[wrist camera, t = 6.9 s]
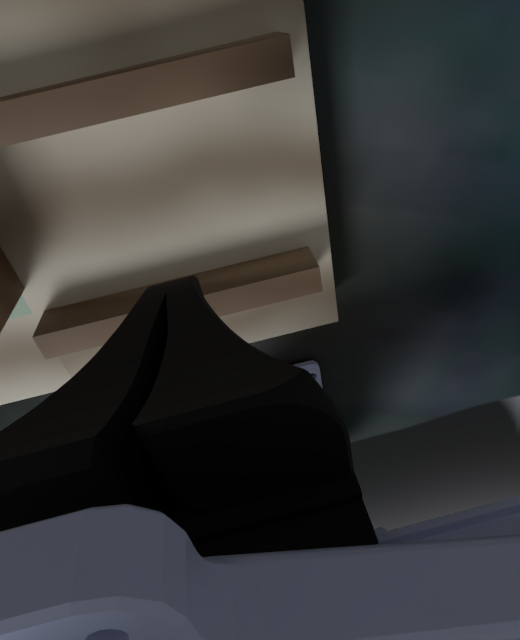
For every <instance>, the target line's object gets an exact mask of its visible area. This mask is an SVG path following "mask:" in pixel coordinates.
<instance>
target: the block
mask: <svg viewBox="0 0 520 640" xmlns="http://www.w3.org/2000/svg"><path fill="white" fill-rule="evenodd" d="M24 290H25V288H24V286H23V284H22V283H21V281H20V279H19V278H18V276H17V274H16V272H15V271H14V269H13V267H12V266H11V264H10V262H9V260H8V259H7V257H6V255H5V254H4V252H3V250H2V248H1V247H0V333H1V331H2V329H3V328H4V326H5V324H6V322H7V320H8V319H9V317H10V315H11V313H12V311H13V310H14V308H15V306H16V304H17V302H18V301H19V299H20V297H21V295H22V293H23V292H24Z"/></svg>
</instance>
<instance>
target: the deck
mask: <svg viewBox="0 0 520 640" xmlns="http://www.w3.org/2000/svg"><path fill="white" fill-rule="evenodd" d="M0 247H1V248H2V250H3V252H4V254H5V255H6V257H7V259H8V260H9V262H10V264H11V266H12V267H13V269H14V271H15V272H16V274H17V276H18V278H19V279H20V281H21V283H22V284H23V286H24V288H25V290H24V292H23V293H22V295H21V297H20V299H19V301H18V302H17V304H16V306H15V308H14V310H13V311H12V313H11V315H10V317H9V319H8V320H7V322H6V324H5V326H4V328H3V329H2V331H1V333H0V405H2V404H7V403H11V402H15V401H19V400H23V399H27V398H31V397H35V396H39V395H43V394H47V393H51V392H55V391H56V390H58V389H59V388H60V387H61V386H63V385H64V384H65V383H66V382H67V381H69V380H70V379H71V378H72V377H73V376H74V375H75V374H76V373H77V372H78V371H79V370H80V369H81V368H82V367H84V366H85V365H86V364H87V363H88V362H89V361H90V360H91V358H92V357H93V356H94V355H95V354H96V353H97V352H98V351H99V350H100V349H101V347H102V346H103V345H104V344H105V343H106V341H107V340H108V339H109V338H110V337H111V335H112V334H113V333H114V332H115V331H116V329H117V328H118V327H119V326H120V324H121V323H122V322H123V320H124V319H125V318H126V316H127V315H128V314H129V312H130V311H131V310H132V308H133V307H134V305H135V304H136V302H137V301H138V300H139V298H140V297H141V295H142V294H143V293H144V291H145V290H146V289H147V288H148V287H150V286H154V285H157V284H161V283H165V282H169V281H173V280H177V279H180V278H184V277H188V276H192V275H193V276H195V277H197V278H198V280H199V283H200V286H201V289H202V292H203V295H204V298H205V299H206V301H207V302H208V304H209V305H210V306H211V308H212V309H213V310H214V312H215V313H216V314H217V315H218V316H219V317H220V319H221V320H222V321H223V322H224V323H225V324H226V325H227V326H228V327H229V328H230V329H231V330H232V331H234V332H235V333H236V334H237V335H238V336H239V337H241V338H242V339H243V340H245V341H246V342H247V343H253V342H257V341H261V340H265V339H269V338H273V337H277V336H281V335H285V334H289V333H293V332H297V331H301V330H305V329H309V328H313V327H317V326H321V325H325V324H329V323H333V322H337V321H338V312H337V303H336V294H335V285H334V276H333V267H332V257H331V248H330V239H329V230H328V221H327V212H326V202H325V193H324V184H323V175H322V166H321V157H320V147H319V138H318V129H317V120H316V111H315V102H314V93H313V83H312V74H311V65H310V56H309V47H308V38H307V28H306V19H305V10H304V1H303V0H0Z"/></svg>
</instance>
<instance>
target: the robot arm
mask: <svg viewBox="0 0 520 640" xmlns="http://www.w3.org/2000/svg"><path fill="white" fill-rule="evenodd" d="M313 373H315V374H314V375H311V374H313ZM0 640H520V496H517V497H513V498H509V499H506V500H502V501H498V502H494V503H491V504H487V505H483V506H479V507H476V508H472V509H468V510H464V511H461V512H457V513H453V514H449V515H445V516H442V517H438V518H434V519H430V520H427V521H423V522H420V523H416V524H412V525H408V526H404V527H401V528H396V529H393V530H389V531H387V530H386V529H385V528H383V527H379V528H377V529H374V528H373V526H372V523H371V521H370V518H369V515H368V513H367V510H366V508H365V505H364V502H363V500H362V492H361V489H360V486H359V483H358V481H357V478H356V475H355V473H354V468H353V461H352V454H351V447H350V440H349V434H348V431H347V428H346V425H345V423H344V420H343V418H342V417H341V415H340V413H339V411H338V410H337V408H336V407H335V405H334V403H333V402H332V401H331V399H330V398H329V396H328V395H327V394H326V392H325V391H324V390H323V387H322V381H321V374H320V368H319V365H318V363H317V362H316V361H313V360H311V361H306V362H302V363H298V364H294V365H291V364H288V363H285V362H282V361H279V360H276V359H274V358H272V357H270V356H268V355H267V354H265V353H263V352H262V351H260V350H258V349H257V348H255V347H253V346H252V345H250V344H249V343H247V342H246V341H245V340H243V339H242V338H241V337H239V336H238V335H237V334H236V333H235V332H234V331H232V330H231V329H230V328H229V327H228V326H227V325H226V324H225V323H224V322H223V321H222V320H221V319H220V317H219V316H218V315H217V314H216V313H215V312H214V310H213V309H212V308H211V306H210V305H209V304H208V302H207V301H206V299H205V298H204V295H203V292H202V289H201V286H200V283H199V280H198V278H197V277H195V276H193V275H192V276H188V277H184V278H180V279H177V280H173V281H169V282H165V283H161V284H157V285H154V286H150V287H148V288H147V289H146V290H145V291H144V293H143V294H142V295H141V297H140V298H139V300H138V301H137V302H136V304H135V305H134V307H133V308H132V310H131V311H130V312H129V314H128V315H127V316H126V318H125V319H124V320H123V322H122V323H121V324H120V326H119V327H118V328H117V329H116V331H115V332H114V333H113V334H112V335H111V337H110V338H109V339H108V340H107V341H106V343H105V344H104V345H103V346H102V347H101V349H100V350H99V351H98V352H97V353H96V354H95V355H94V356H93V357H92V358H91V360H90V361H89V362H88V363H87V364H86V365H85V366H84V367H82V368H81V369H80V370H79V371H78V372H77V373H76V374H75V375H74V376H73V377H72V378H71V379H70V380H69V381H67V382H66V383H65V384H64V385H63V386H61V387H60V388H59V389H58V390H56V391H55V392H54V393H53V394H52V395H50V396H49V397H48V398H47V399H45V400H44V401H43V402H42V403H40V404H39V405H38V406H36V407H35V408H34V409H32V410H31V411H30V412H28V413H27V414H25V415H24V416H23V417H21V418H20V419H18V420H17V421H15V422H14V423H12V424H11V425H9V426H8V427H6V428H5V429H3V430H2V431H0Z"/></svg>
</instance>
